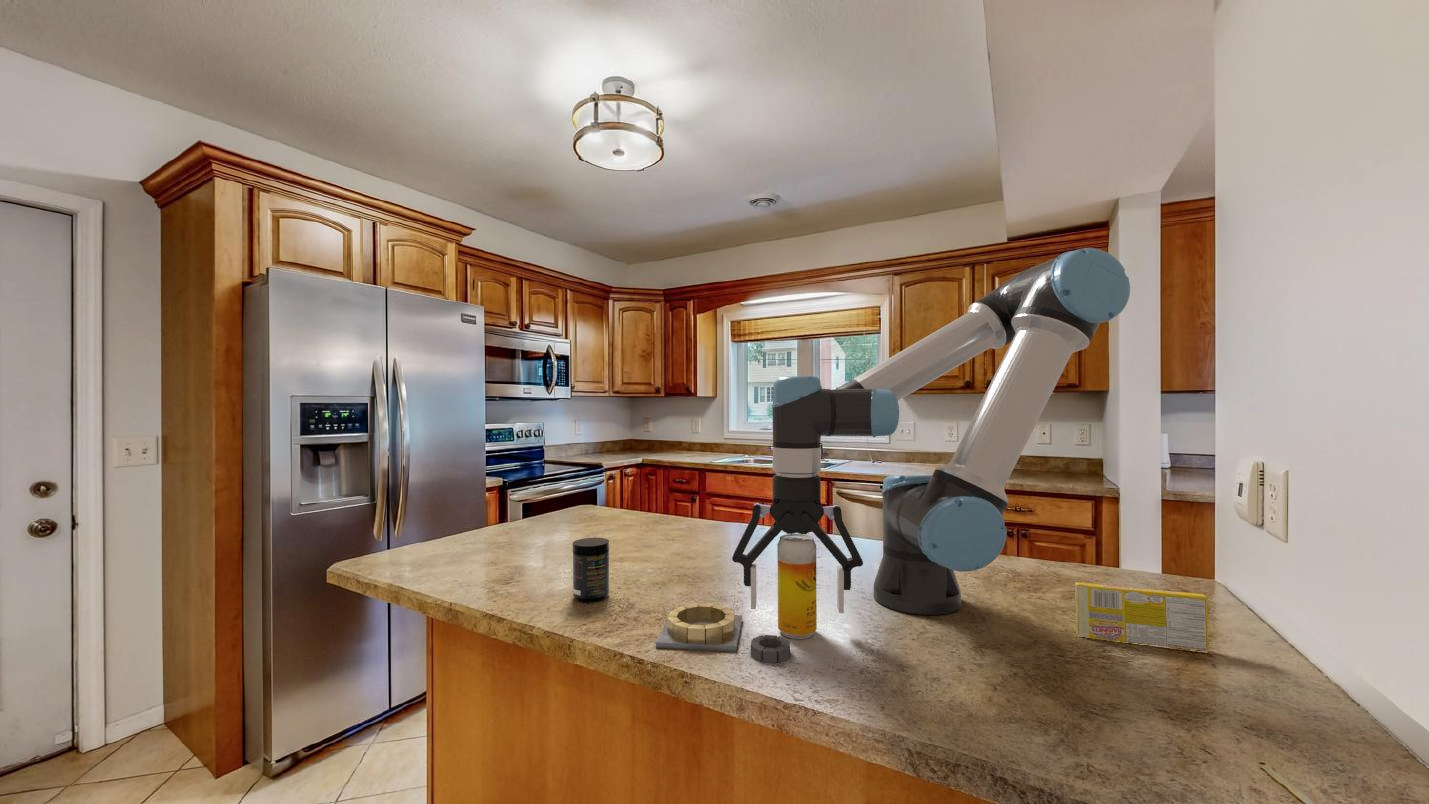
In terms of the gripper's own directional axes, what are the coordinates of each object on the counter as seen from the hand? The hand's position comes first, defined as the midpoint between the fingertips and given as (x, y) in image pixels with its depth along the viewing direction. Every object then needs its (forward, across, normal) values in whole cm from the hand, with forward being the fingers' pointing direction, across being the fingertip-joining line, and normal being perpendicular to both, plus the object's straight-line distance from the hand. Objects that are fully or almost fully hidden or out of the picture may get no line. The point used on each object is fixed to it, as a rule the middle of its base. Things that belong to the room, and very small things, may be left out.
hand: (796, 608), depth 89 cm
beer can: (+4, 0, 0) cm, 4 cm away
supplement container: (+4, +38, -12) cm, 40 cm away
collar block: (+4, +15, +2) cm, 16 cm away
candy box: (+4, -51, -2) cm, 51 cm away
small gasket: (+4, +4, +8) cm, 10 cm away
